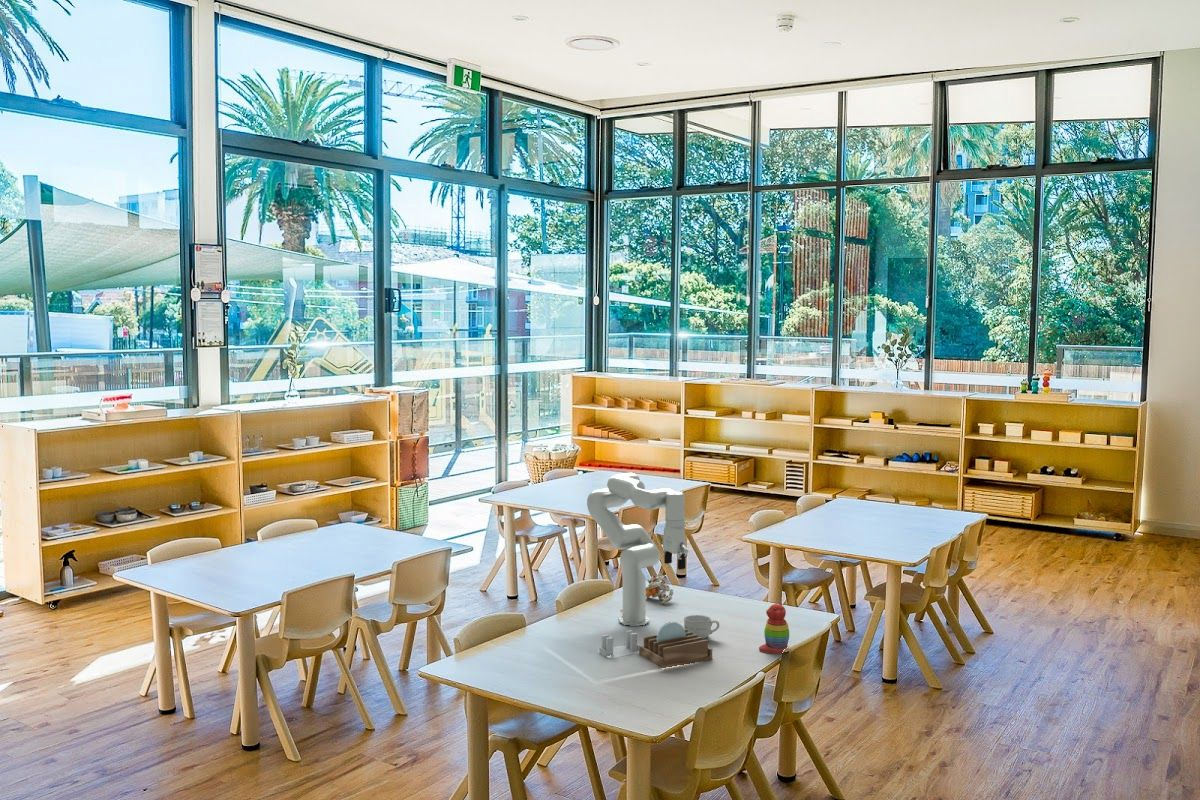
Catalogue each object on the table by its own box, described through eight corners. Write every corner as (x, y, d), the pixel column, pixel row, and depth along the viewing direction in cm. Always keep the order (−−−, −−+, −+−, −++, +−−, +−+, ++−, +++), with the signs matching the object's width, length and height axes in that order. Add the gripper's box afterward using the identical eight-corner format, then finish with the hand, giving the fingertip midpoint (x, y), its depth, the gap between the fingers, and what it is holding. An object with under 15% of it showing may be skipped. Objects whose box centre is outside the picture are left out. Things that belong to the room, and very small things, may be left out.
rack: (639, 656, 380) (639, 637, 379) (688, 646, 391) (688, 627, 390) (661, 670, 366) (661, 650, 365) (712, 659, 377) (712, 640, 376)
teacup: (679, 639, 399) (679, 619, 398) (690, 631, 409) (690, 612, 408) (712, 645, 393) (713, 624, 392) (722, 636, 402) (723, 617, 401)
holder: (595, 653, 384) (595, 633, 383) (630, 646, 391) (630, 627, 390) (608, 661, 375) (608, 641, 374) (643, 654, 382) (643, 635, 381)
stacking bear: (771, 643, 394) (771, 598, 392) (794, 648, 388) (795, 603, 386) (756, 650, 386) (757, 605, 384) (780, 656, 379) (781, 610, 378)
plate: (651, 649, 376) (662, 618, 377) (677, 656, 382) (688, 625, 383) (653, 650, 375) (664, 619, 376) (679, 657, 381) (690, 627, 382)
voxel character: (655, 600, 458) (680, 590, 449) (646, 611, 450) (671, 601, 441) (641, 579, 457) (666, 569, 448) (632, 590, 449) (657, 580, 440)
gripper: (655, 520, 404) (655, 562, 406) (678, 528, 389) (678, 572, 391) (671, 518, 408) (671, 560, 409) (695, 526, 393) (695, 569, 394)
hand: (674, 566), depth 400 cm, fingers open, 9 cm apart
